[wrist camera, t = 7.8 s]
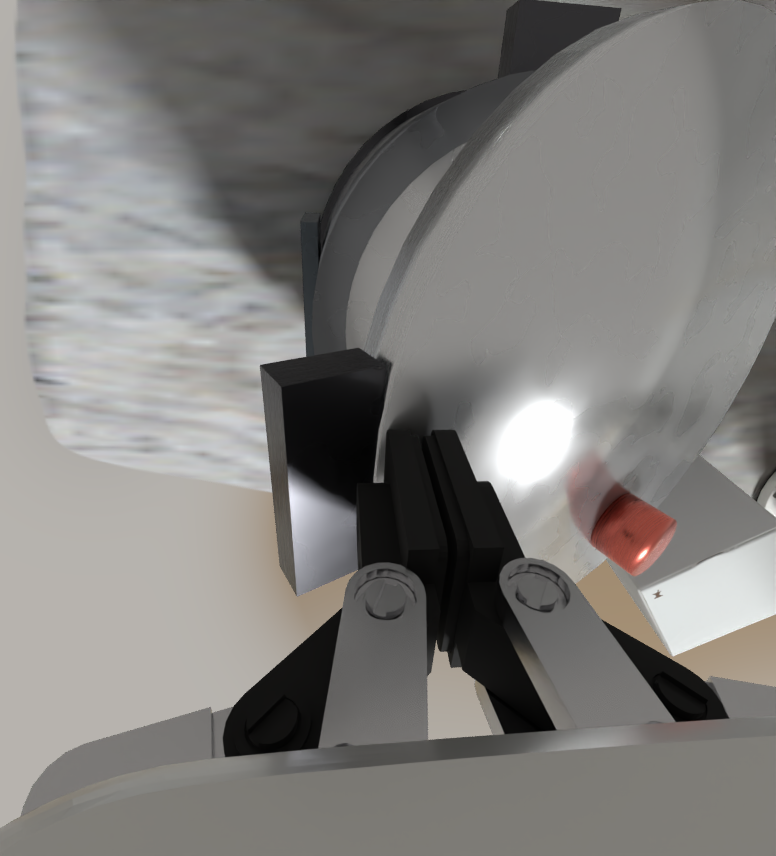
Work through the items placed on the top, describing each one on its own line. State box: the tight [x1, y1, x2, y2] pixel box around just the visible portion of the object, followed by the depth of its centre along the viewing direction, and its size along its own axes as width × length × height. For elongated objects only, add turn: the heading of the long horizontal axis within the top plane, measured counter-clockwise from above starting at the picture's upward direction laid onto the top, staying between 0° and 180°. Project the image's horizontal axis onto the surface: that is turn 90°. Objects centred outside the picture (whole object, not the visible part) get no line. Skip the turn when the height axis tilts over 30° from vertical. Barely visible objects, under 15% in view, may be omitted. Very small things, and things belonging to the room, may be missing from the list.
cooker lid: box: [260, 0, 776, 596], centre depth 16 cm, size 23×21×4 cm
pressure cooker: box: [300, 0, 621, 357], centre depth 27 cm, size 22×24×12 cm
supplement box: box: [606, 455, 776, 656], centre depth 35 cm, size 9×9×15 cm
